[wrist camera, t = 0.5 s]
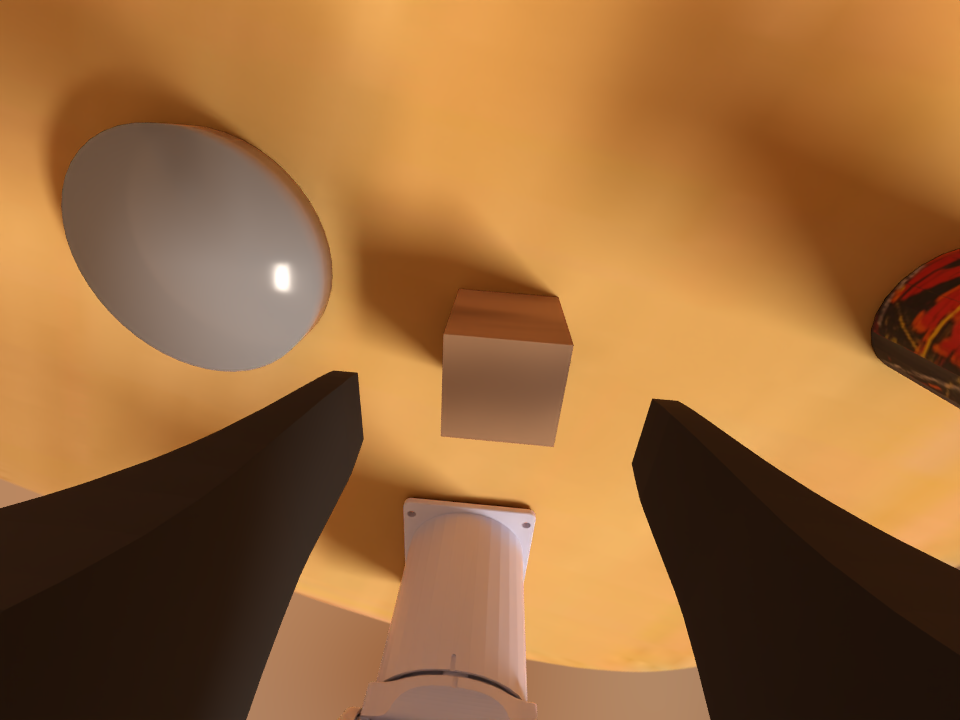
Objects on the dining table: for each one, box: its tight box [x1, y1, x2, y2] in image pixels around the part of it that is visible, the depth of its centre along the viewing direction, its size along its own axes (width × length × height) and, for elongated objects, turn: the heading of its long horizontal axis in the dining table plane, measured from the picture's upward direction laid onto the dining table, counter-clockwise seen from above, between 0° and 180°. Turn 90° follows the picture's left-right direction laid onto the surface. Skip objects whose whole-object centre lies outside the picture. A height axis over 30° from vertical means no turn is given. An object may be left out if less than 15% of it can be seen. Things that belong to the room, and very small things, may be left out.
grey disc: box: [61, 123, 332, 372], centre depth 17 cm, size 10×10×2 cm
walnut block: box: [441, 289, 574, 447], centre depth 17 cm, size 4×4×5 cm
